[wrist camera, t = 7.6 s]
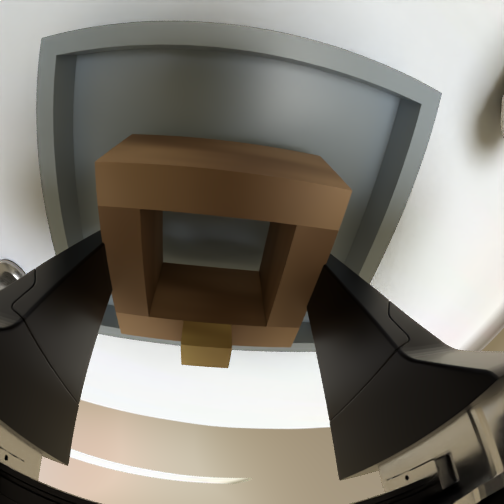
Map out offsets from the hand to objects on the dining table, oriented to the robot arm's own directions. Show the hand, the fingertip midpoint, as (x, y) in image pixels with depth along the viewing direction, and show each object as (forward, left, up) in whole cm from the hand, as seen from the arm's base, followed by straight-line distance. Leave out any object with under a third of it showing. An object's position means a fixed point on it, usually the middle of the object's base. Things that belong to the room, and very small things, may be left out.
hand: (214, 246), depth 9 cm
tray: (0, 0, -3) cm, 3 cm away
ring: (0, 0, -2) cm, 2 cm away
